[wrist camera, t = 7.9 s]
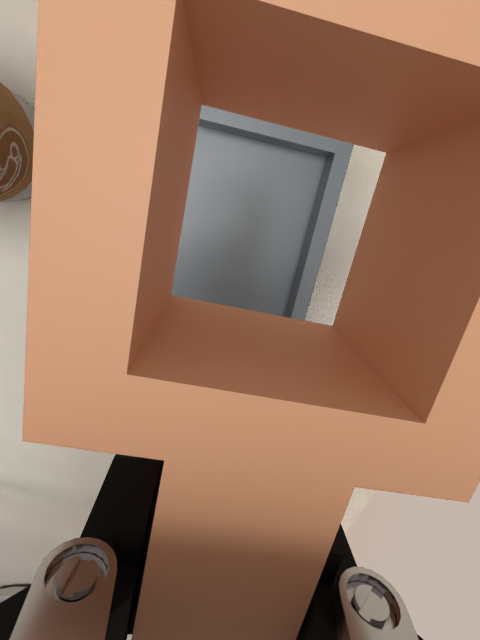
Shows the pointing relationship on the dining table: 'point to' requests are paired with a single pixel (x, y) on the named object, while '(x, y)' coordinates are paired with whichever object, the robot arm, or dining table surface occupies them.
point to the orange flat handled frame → (246, 325)
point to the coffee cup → (15, 146)
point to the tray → (257, 213)
